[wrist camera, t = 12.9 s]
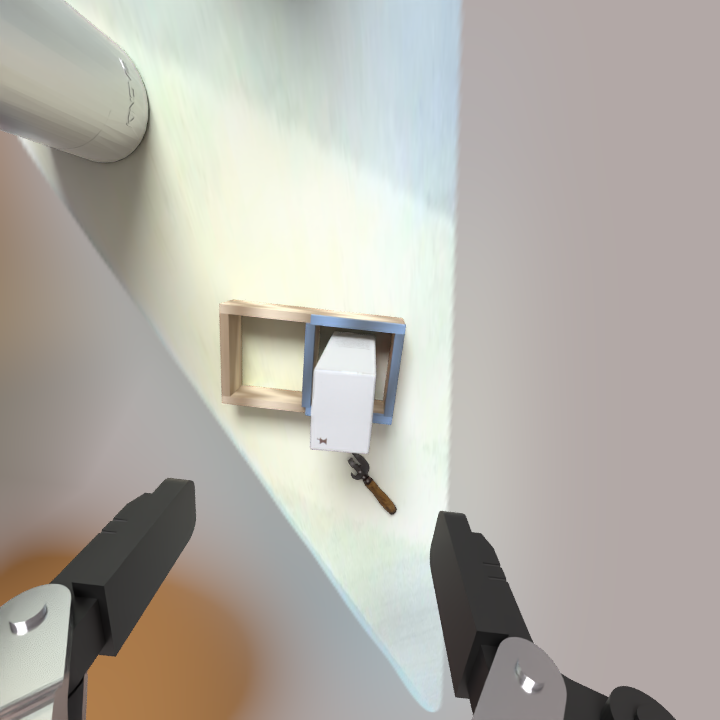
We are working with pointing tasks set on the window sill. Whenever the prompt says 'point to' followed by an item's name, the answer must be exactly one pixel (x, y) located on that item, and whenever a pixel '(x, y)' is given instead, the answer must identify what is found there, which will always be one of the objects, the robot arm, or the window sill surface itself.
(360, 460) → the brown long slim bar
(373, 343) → the skincare box
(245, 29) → the window sill surface
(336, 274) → the window sill surface
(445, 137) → the window sill surface
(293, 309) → the organiser
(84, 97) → the robot arm
